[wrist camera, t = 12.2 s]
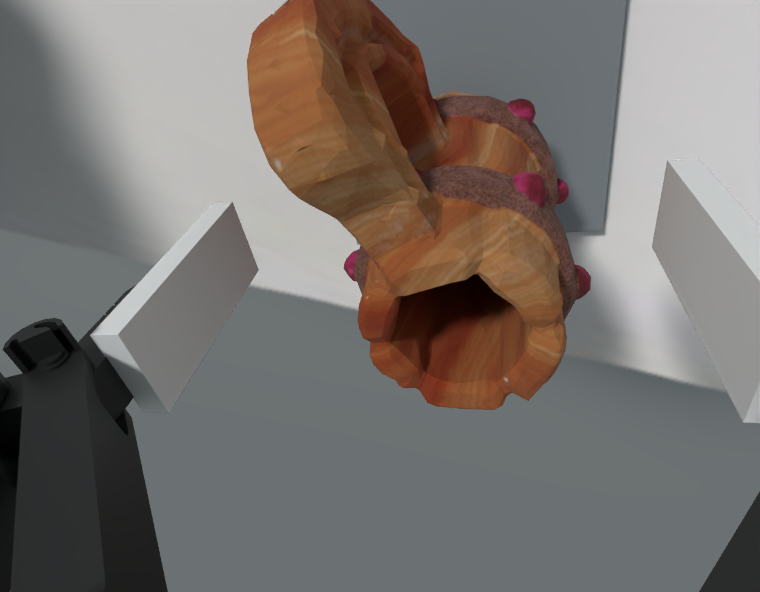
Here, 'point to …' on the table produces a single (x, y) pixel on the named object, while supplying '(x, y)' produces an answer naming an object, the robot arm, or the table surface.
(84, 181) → the table surface
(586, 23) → the rubber mat
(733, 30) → the table surface
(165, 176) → the table surface
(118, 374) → the robot arm
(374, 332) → the mug
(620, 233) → the table surface
